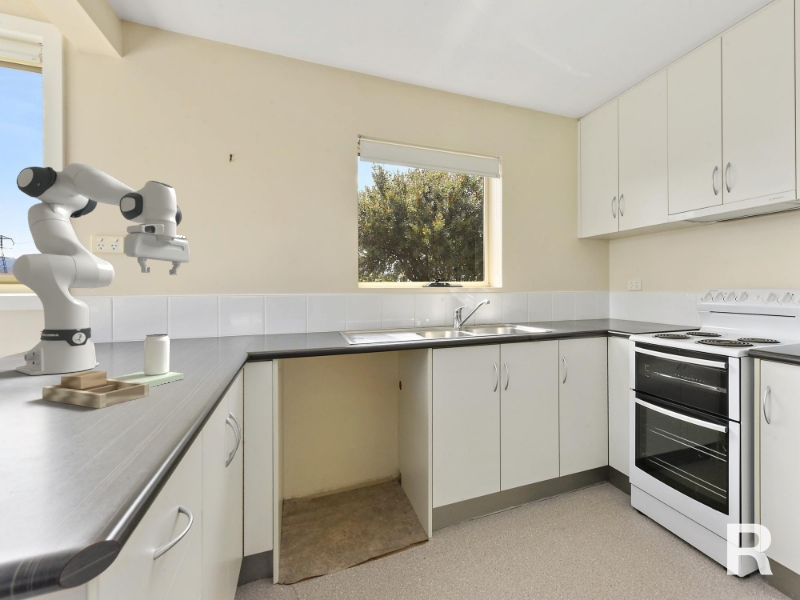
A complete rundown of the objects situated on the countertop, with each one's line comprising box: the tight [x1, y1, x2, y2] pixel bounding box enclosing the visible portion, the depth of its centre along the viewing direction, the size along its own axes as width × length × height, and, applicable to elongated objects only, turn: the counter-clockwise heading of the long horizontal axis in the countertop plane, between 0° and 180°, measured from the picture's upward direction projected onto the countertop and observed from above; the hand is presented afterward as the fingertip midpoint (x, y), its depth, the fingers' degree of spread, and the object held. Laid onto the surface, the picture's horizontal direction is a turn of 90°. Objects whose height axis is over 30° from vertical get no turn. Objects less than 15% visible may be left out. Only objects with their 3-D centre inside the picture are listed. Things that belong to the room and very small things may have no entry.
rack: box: [41, 379, 150, 409], centre depth 88 cm, size 20×11×3 cm, turn 73°
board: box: [107, 370, 185, 388], centre depth 103 cm, size 14×14×2 cm
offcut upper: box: [60, 370, 108, 389], centre depth 89 cm, size 6×7×3 cm
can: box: [143, 333, 171, 376], centre depth 107 cm, size 6×6×12 cm
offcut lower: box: [74, 383, 108, 391], centre depth 89 cm, size 6×7×3 cm
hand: (159, 273), depth 113 cm, fingers open, 8 cm apart
